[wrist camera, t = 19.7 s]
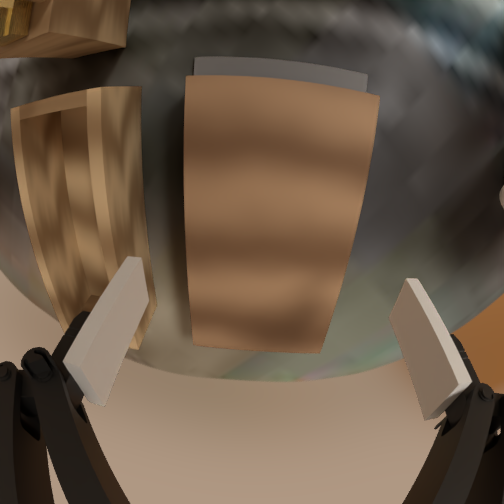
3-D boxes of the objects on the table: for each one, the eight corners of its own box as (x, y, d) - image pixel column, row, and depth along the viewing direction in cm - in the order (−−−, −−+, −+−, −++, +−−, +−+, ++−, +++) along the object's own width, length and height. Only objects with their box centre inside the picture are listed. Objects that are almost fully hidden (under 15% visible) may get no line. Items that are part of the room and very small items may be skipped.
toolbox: (64, 19, 14) (-33, 7, 4) (149, -4, 14) (65, -55, 4) (89, 295, 28) (41, 373, 18) (157, 305, 28) (120, 398, 18)
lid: (200, 79, 17) (185, 75, 14) (359, 95, 17) (380, 96, 14) (200, 314, 28) (193, 345, 24) (314, 322, 28) (319, 353, 24)
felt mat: (195, 57, 17) (194, 56, 16) (366, 74, 17) (367, 74, 16) (197, 324, 29) (196, 326, 28) (315, 332, 29) (315, 334, 28)
